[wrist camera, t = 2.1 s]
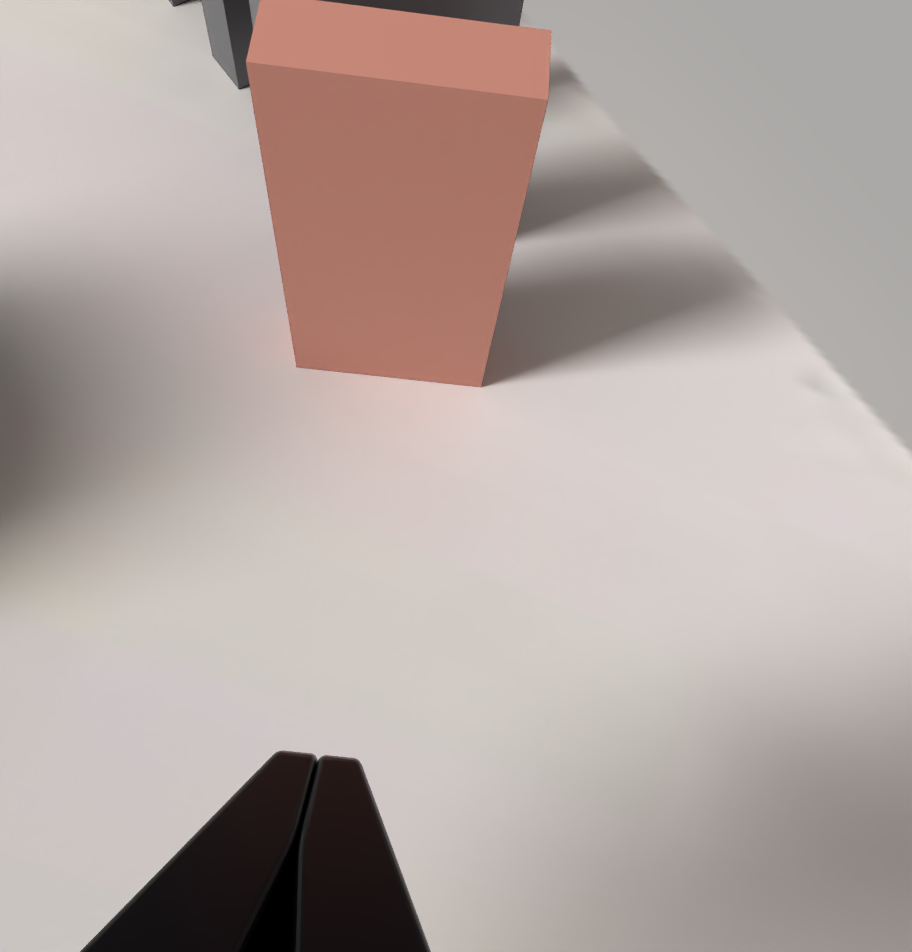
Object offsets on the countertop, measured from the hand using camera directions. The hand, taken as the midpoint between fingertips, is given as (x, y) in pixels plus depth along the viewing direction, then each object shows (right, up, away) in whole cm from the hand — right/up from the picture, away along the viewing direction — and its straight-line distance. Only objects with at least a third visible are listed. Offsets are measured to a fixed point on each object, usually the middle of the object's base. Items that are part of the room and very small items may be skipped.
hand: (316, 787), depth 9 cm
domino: (0, +7, +15) cm, 16 cm away
